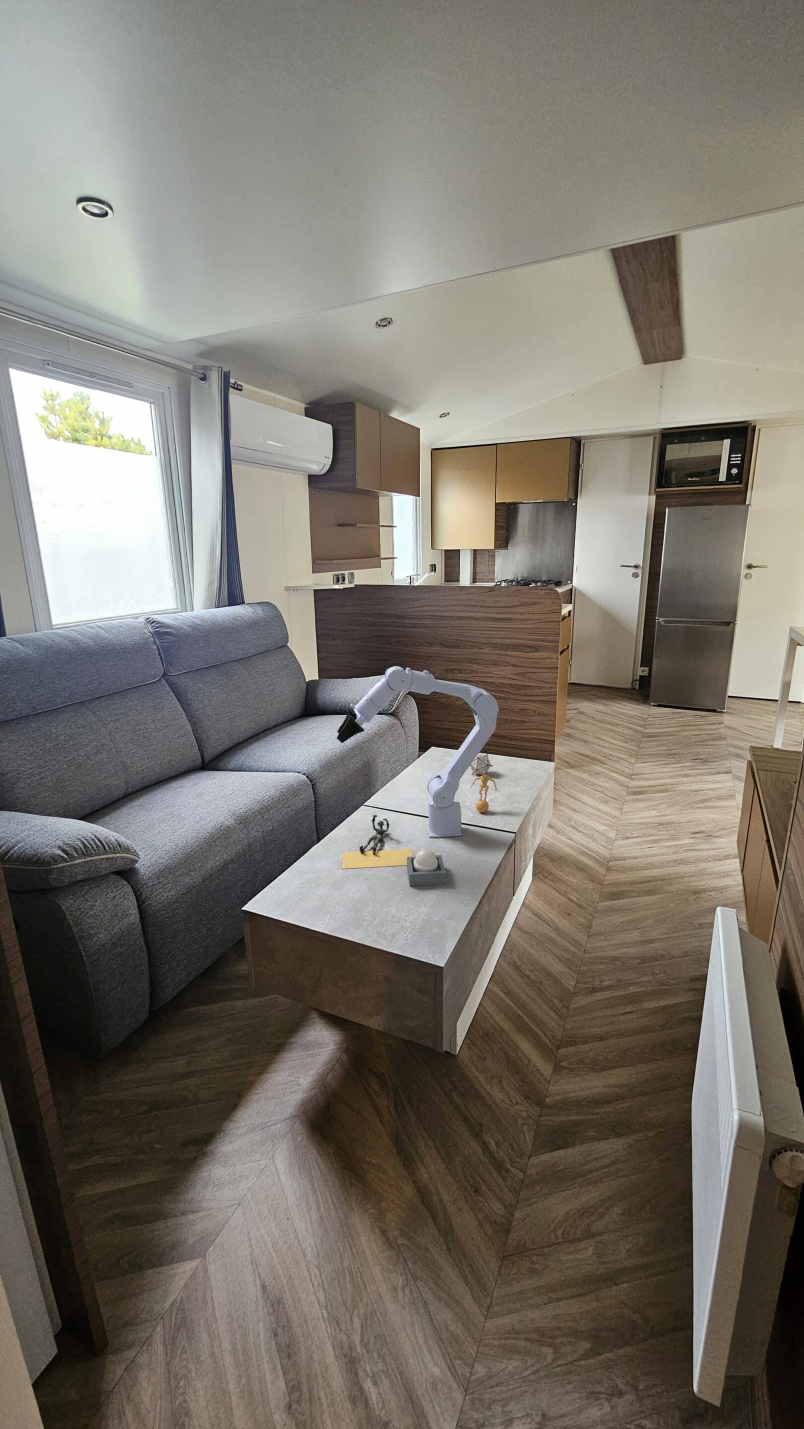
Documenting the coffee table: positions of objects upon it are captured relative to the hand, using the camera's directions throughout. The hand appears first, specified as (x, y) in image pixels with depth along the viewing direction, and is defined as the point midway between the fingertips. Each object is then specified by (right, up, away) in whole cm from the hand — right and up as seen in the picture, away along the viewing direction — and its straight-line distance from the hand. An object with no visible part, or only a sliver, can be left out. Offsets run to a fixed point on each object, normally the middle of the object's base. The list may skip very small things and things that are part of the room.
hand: (339, 737), depth 169 cm
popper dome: (+23, -33, -14) cm, 42 cm away
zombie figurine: (+10, -30, +6) cm, 32 cm away
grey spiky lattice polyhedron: (+46, -16, +56) cm, 74 cm away
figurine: (+43, -24, +25) cm, 55 cm away
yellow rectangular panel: (+11, -33, -4) cm, 34 cm away
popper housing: (+23, -35, -13) cm, 44 cm away
